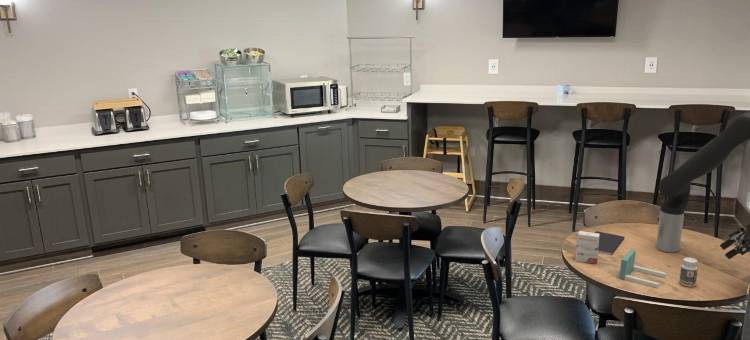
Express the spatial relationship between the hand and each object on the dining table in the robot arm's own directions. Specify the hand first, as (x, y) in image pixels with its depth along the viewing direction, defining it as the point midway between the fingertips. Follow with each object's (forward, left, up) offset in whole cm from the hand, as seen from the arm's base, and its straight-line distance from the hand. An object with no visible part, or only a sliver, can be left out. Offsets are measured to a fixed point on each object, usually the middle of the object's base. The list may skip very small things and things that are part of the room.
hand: (724, 252), depth 221 cm
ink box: (-24, -42, -15) cm, 51 cm away
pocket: (-8, -25, -14) cm, 30 cm away
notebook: (-41, -30, -15) cm, 53 cm away
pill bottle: (-3, -10, -15) cm, 18 cm away
